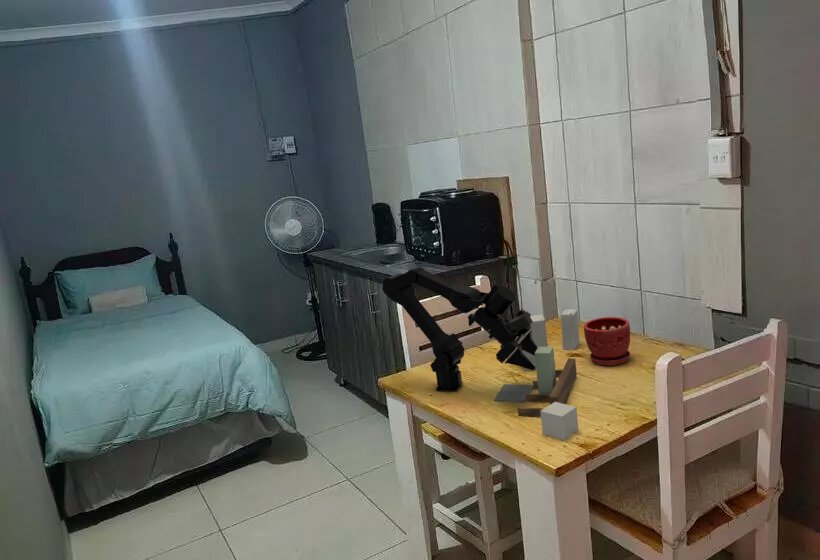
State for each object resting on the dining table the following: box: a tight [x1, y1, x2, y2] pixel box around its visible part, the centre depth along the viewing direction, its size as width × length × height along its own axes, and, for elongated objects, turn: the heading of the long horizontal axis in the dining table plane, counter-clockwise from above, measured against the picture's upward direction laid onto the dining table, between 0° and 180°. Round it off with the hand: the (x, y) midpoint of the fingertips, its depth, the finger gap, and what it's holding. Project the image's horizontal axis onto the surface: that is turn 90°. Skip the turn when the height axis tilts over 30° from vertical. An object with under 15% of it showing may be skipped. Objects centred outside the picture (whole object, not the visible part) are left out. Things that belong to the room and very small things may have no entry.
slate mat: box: [493, 383, 534, 403], centre depth 173 cm, size 9×11×1 cm
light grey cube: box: [540, 402, 579, 441], centre depth 147 cm, size 6×6×6 cm
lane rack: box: [517, 357, 578, 418], centre depth 168 cm, size 10×27×6 cm, turn 156°
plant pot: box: [583, 316, 631, 366], centre depth 186 cm, size 13×13×12 cm
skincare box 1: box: [522, 314, 549, 372], centre depth 189 cm, size 8×7×16 cm
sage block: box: [535, 346, 558, 394], centre depth 167 cm, size 4×5×13 cm
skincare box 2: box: [560, 308, 581, 351], centre depth 202 cm, size 6×4×12 cm
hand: (538, 362), depth 168 cm, fingers open, 9 cm apart
